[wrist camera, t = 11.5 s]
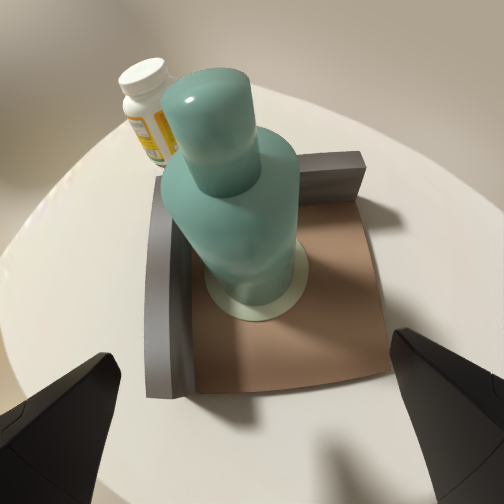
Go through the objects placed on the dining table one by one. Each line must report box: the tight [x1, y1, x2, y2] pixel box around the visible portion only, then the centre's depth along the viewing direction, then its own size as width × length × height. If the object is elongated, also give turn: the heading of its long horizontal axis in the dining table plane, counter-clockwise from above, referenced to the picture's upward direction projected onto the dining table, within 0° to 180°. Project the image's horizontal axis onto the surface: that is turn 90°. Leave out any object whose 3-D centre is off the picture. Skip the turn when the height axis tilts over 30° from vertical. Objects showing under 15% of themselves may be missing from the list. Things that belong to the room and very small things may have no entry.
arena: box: [144, 151, 391, 399], centre depth 17 cm, size 14×14×5 cm
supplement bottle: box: [119, 58, 179, 165], centre depth 21 cm, size 5×5×10 cm
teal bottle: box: [161, 68, 300, 306], centre depth 12 cm, size 5×5×14 cm
